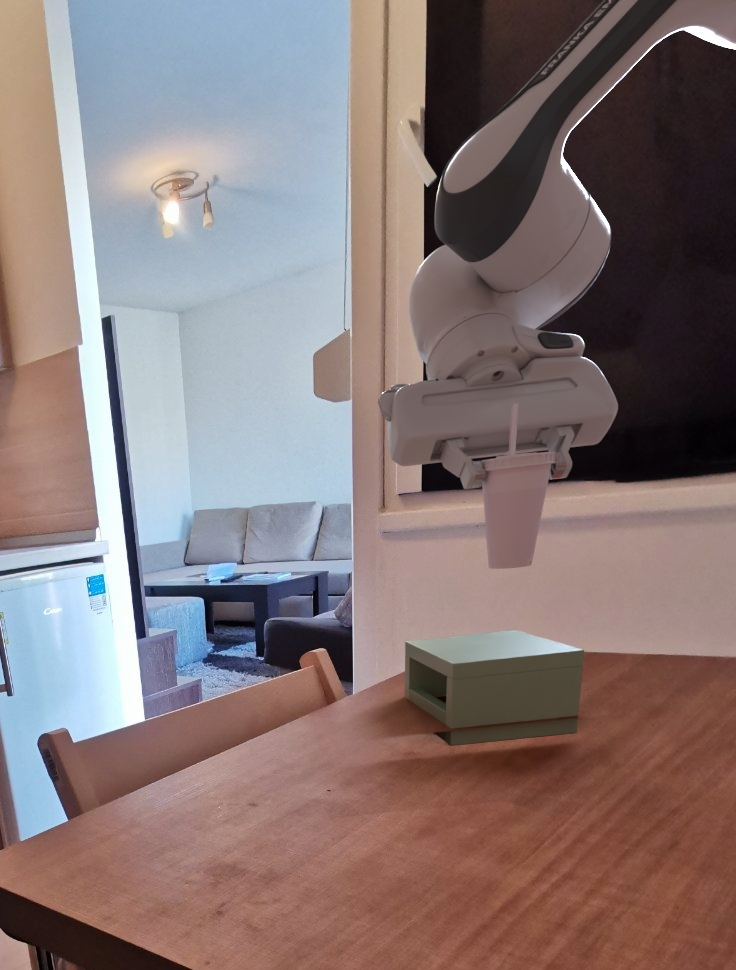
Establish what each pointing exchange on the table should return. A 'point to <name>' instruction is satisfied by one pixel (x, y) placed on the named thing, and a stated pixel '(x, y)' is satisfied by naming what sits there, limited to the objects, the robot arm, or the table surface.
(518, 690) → the shelf
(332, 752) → the table surface
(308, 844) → the table surface
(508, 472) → the smoothie
